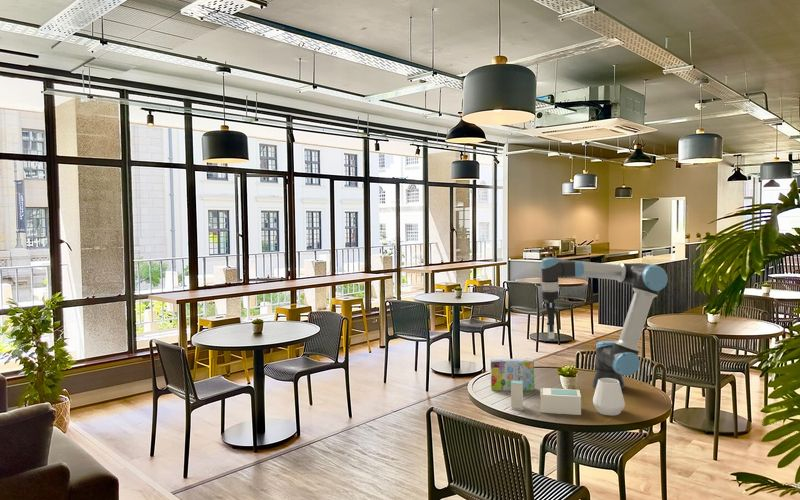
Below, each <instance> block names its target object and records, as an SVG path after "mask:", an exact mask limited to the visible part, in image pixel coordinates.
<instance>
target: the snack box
mask: <svg viewBox="0 0 800 500" xmlns="http://www.w3.org/2000/svg"><path fill="white" fill-rule="evenodd" d="M489 361H490V370H489V371H490V389H491V391H503V392H504V391H506V392H507V391H510V392H511V380H513V381H523V392H525V391H527V392H528V391H531V392H532V391H533V392H534V391H535V361H534V359H533V358H490V359H489Z"/></svg>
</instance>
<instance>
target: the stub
mask: <svg viewBox="0 0 800 500" xmlns="http://www.w3.org/2000/svg"><path fill="white" fill-rule="evenodd" d="M523 393H524V391H523V381H513V380H511V391H510V408H523V409H524V403H523V402H524V401H523V400H524V395H523Z"/></svg>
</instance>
